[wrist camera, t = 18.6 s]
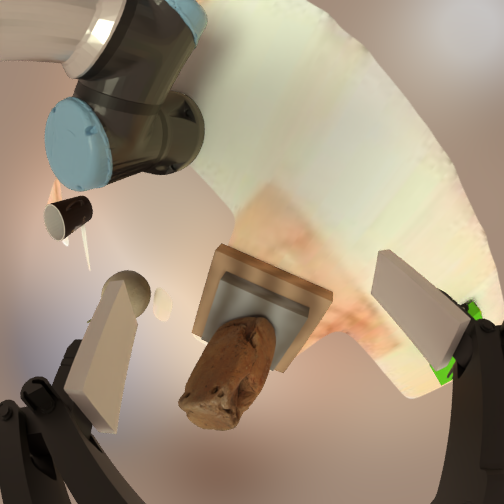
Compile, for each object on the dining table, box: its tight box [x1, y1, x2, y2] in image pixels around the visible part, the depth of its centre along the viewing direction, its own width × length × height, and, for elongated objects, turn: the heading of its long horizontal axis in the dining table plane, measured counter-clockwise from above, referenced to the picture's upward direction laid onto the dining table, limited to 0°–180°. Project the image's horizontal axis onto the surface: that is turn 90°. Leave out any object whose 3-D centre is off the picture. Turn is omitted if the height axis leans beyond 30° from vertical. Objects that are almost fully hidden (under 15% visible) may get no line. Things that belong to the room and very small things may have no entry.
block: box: [178, 317, 276, 431], centre depth 41 cm, size 11×8×20 cm
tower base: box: [192, 244, 333, 373], centre depth 52 cm, size 22×22×6 cm
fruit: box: [87, 270, 151, 323], centre depth 54 cm, size 10×12×15 cm
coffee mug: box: [44, 196, 93, 242], centre depth 52 cm, size 12×9×10 cm
